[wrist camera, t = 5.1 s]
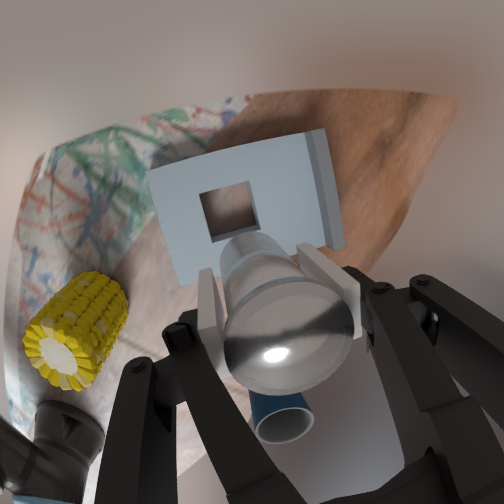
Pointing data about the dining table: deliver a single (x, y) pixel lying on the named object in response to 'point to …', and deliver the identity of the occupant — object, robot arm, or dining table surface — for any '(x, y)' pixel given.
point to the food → (76, 330)
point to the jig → (261, 195)
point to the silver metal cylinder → (279, 319)
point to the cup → (280, 417)
